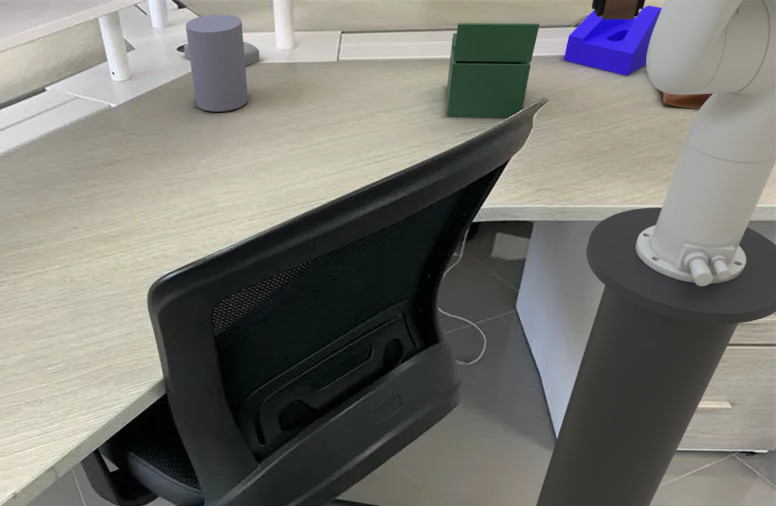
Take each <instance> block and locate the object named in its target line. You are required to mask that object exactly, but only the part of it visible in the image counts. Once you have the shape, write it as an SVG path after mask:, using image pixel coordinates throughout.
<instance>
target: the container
mask: <svg viewBox="0 0 776 506" xmlns="http://www.w3.org/2000/svg"><path fill="white" fill-rule="evenodd" d="M185 30H186V37H187V44H188V47H189V54H190V59H189V60H190V68H191V76H192V83H193V91H194V99H195V100H194V101H195V105H196V106H197V107H198V108H199V109H201V110H202V111H205V112H210V113H225V112H226V113H227V112H231V111H235V110H238V109H240V108H241V107H243V106H245V104H247V102H248V100H249V95H248V83H247V70H246V66H245V57H244V45H243V42H244V34H243V21H242V18H240V17H238V16H235V15H232V14H209V15H202V16H198V17H195V18H193V19H191V20H188V22H186V23H185Z"/></svg>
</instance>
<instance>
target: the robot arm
mask: <svg viewBox="0 0 776 506" xmlns="http://www.w3.org/2000/svg"><path fill="white" fill-rule="evenodd" d="M605 1H606V0H592V3H591V9H592V10H593V11H594V12H595V14H596V16H602V14H603V10H604V5H605ZM645 3H646V0H638V2H637V6H636V10H635V14H634V17H637V16H638V15H639V13H640V10H642V9H643V8H644V7H645ZM661 8H662V10H661V12H660V14H659V17H658V19H657V22H656V24H655V27H654V30H653V33H652V35H651V39H650V42H649V46H648V51H647V58H646V65H645V66H646V67H645V69H646V73H647V77H648V80H649V82H650V83H651V85H652V86H653V87H654V88H655V89H657V90H658V91H659V92H660V91H662V92H665V93H669V94H678V95H688V94H712V93H713V94H712V95H711V96H710V97H709V98H708V100H707V101H706V102H705V103H704V104H703V106H702V107H701V108H700V109H698V111H697V112H696V114H695V116H694V118H693V120H692V122H691V124H690V127H689V128H688V132H687V135H686V138H685V140H684V142H683V143H684V144H683V146H682V149H681V152H680V154H679V158H678V160H677V163H676V166H675V168H674V172H673V175H672V178H671V181H670V184H669V186H668V189H667V193H666V195H665V197H664V201H663V204H662V207H661V208H662V209H661V212H660V215H659V218H658V221H657V224H656V225H655V226H652V227H649V228H647V229H645V230H644V231H642V232H641V233H640V235H639V237H638V239H637V242H636V246H635V247H636V252H637V254H638V256H639V257H640V259H641V260H642V261H643V262H644V263H645V264H646V265H648V266H649V267H650V268H652V269H654V270H655V271H657V272H659V273H661V274H663V275H665V276H668V277H671V278H674V279H677V280H681V281H685V282H691V283H696V284H697V285H698V286H706V285H708V284H714V283H721V282H726V281H729V280H732V279H734V278H736V277H737V276H739V275H740V274H741V272H742V271H743V269H744V267H745V264H746V256H745V253H744V251H743V250H742V249H741V247H740V246H739V243H740V241H741V239H742V236H743V234H744V232H745V230H746V228H747V227H748V226H749V223H750V221H751V219H752V216H753V214H754V212H755V209H756V207H757V205H758V203H759V200H760V198H761V197H762V194H763V192H764V189H765V187H766V184H767V183H768V181H769V178H770V176H771V174H772V171H773V169H774V167H775V164H776V0H664V2H663V5H662V7H661Z"/></svg>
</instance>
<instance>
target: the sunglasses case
mask: <svg viewBox="0 0 776 506" xmlns="http://www.w3.org/2000/svg"><path fill="white" fill-rule="evenodd" d="M659 92H660V96H661V101H662V103H663V105H666V106H669V107H674V108H680V109H689V110H690V109H691V110H692V109H693V110H700V108H701V107H702V106H703V104H704V103H705V102H706V101H707V100H708V98H709V97H710V96H711V95H712V94H713V93H712V94H688V95H678V94H669V93H665V92H662V91H660V90H659Z"/></svg>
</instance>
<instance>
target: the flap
mask: <svg viewBox="0 0 776 506" xmlns="http://www.w3.org/2000/svg"><path fill="white" fill-rule="evenodd" d="M456 27H457V28H456V33H457V35H456V43H455V51H454V59H453V61H491V62H530V63H532V60H533V55H534V50H535V47H536V41H537V38H538V33H539V29H540V23H519V22H518V23H512V22H511V23H502V22H501V23H500V22H499V23H495V22H494V23H484V22H483V23H481V22H480V23H479V22H477V23H474V22H469V23H468V22H465V23H463V22H460V23H459V22H458V23H457V26H456Z"/></svg>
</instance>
